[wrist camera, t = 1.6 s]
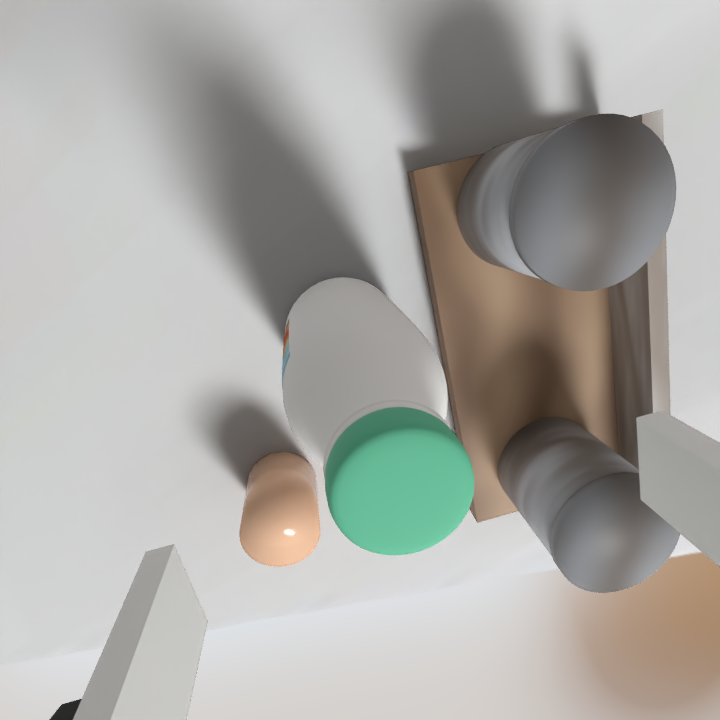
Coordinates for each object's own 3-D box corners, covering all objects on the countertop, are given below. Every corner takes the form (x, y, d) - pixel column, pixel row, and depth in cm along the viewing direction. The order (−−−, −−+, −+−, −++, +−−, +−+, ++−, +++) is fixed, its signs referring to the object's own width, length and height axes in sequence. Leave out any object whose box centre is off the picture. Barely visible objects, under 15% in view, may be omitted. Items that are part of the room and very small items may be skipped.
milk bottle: (295, 264, 32) (299, 353, 13) (409, 287, 33) (562, 397, 14) (275, 375, 34) (254, 592, 15) (383, 392, 35) (487, 610, 16)
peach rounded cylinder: (259, 518, 37) (253, 575, 31) (239, 462, 35) (228, 511, 30) (323, 501, 37) (328, 554, 32) (306, 444, 36) (308, 489, 30)
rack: (471, 515, 39) (530, 617, 30) (406, 165, 31) (459, 147, 21) (623, 472, 40) (729, 558, 30) (601, 118, 31) (740, 79, 22)
